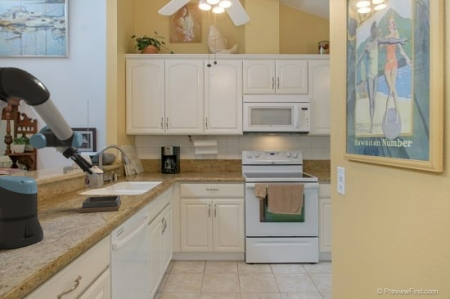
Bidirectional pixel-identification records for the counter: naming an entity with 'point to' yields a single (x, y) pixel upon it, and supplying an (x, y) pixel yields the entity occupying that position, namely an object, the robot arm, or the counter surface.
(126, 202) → the counter surface
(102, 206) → the collar stand
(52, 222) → the counter surface
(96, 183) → the teacup with lid
